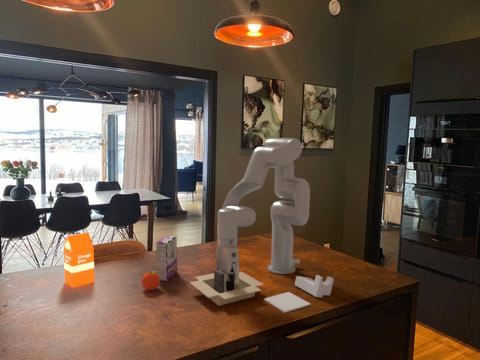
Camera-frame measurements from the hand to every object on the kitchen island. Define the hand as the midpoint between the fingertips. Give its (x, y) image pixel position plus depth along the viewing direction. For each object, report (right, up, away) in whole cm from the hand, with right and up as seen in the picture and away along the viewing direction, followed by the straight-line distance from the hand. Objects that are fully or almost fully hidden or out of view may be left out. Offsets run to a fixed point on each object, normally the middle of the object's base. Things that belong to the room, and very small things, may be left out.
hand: (226, 287), depth 143 cm
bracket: (+34, -3, +5) cm, 35 cm away
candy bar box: (-26, 0, +17) cm, 31 cm away
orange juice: (-60, -1, +8) cm, 60 cm away
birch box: (0, -2, 0) cm, 2 cm away
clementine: (-29, -2, +3) cm, 29 cm away
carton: (0, -2, 0) cm, 2 cm away
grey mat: (+22, -4, -7) cm, 24 cm away
